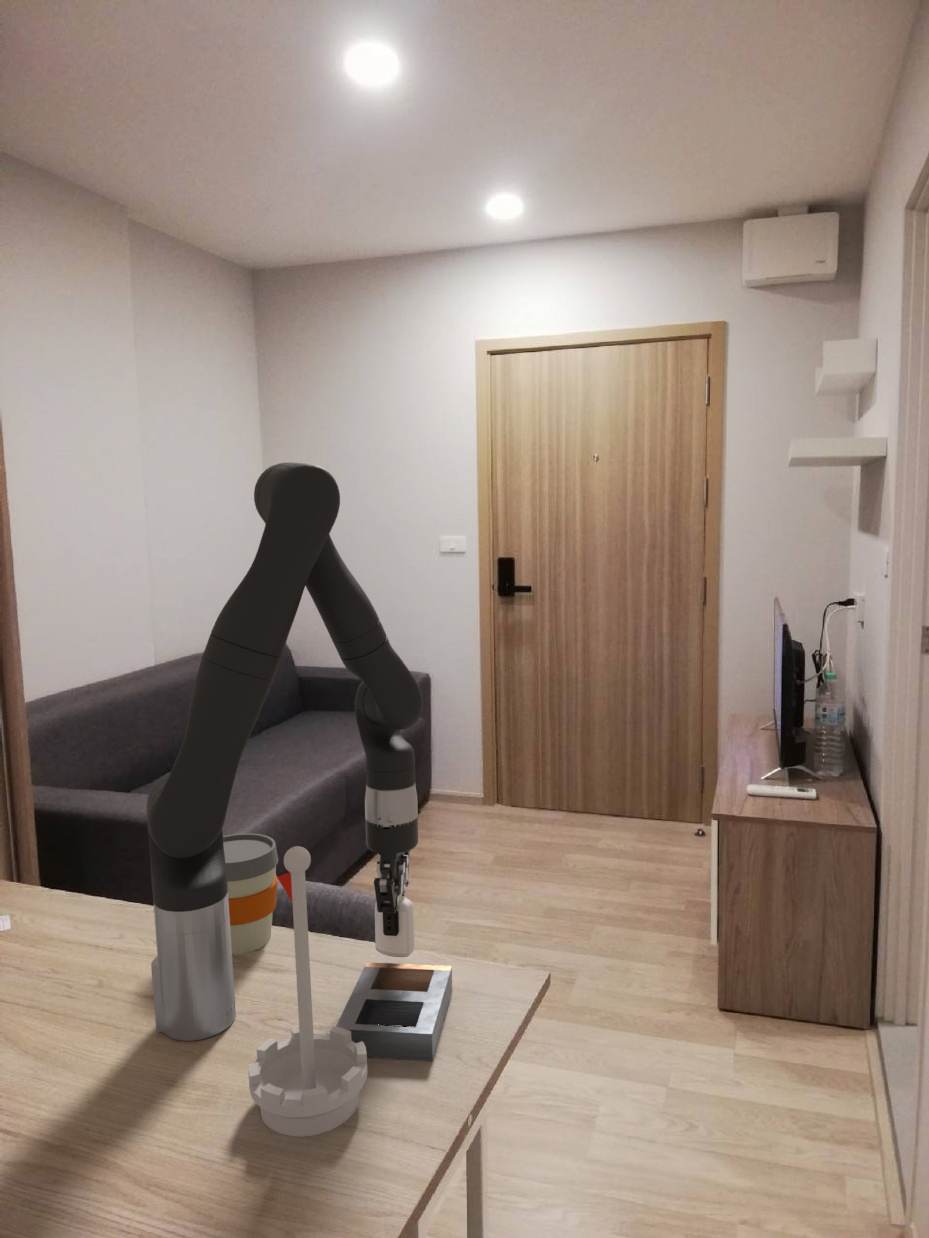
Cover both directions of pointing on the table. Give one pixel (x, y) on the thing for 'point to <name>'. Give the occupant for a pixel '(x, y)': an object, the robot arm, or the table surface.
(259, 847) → the reusable coffee cup
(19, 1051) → the table surface
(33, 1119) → the table surface
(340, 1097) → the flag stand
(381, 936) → the eye dropper bottle
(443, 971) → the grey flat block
